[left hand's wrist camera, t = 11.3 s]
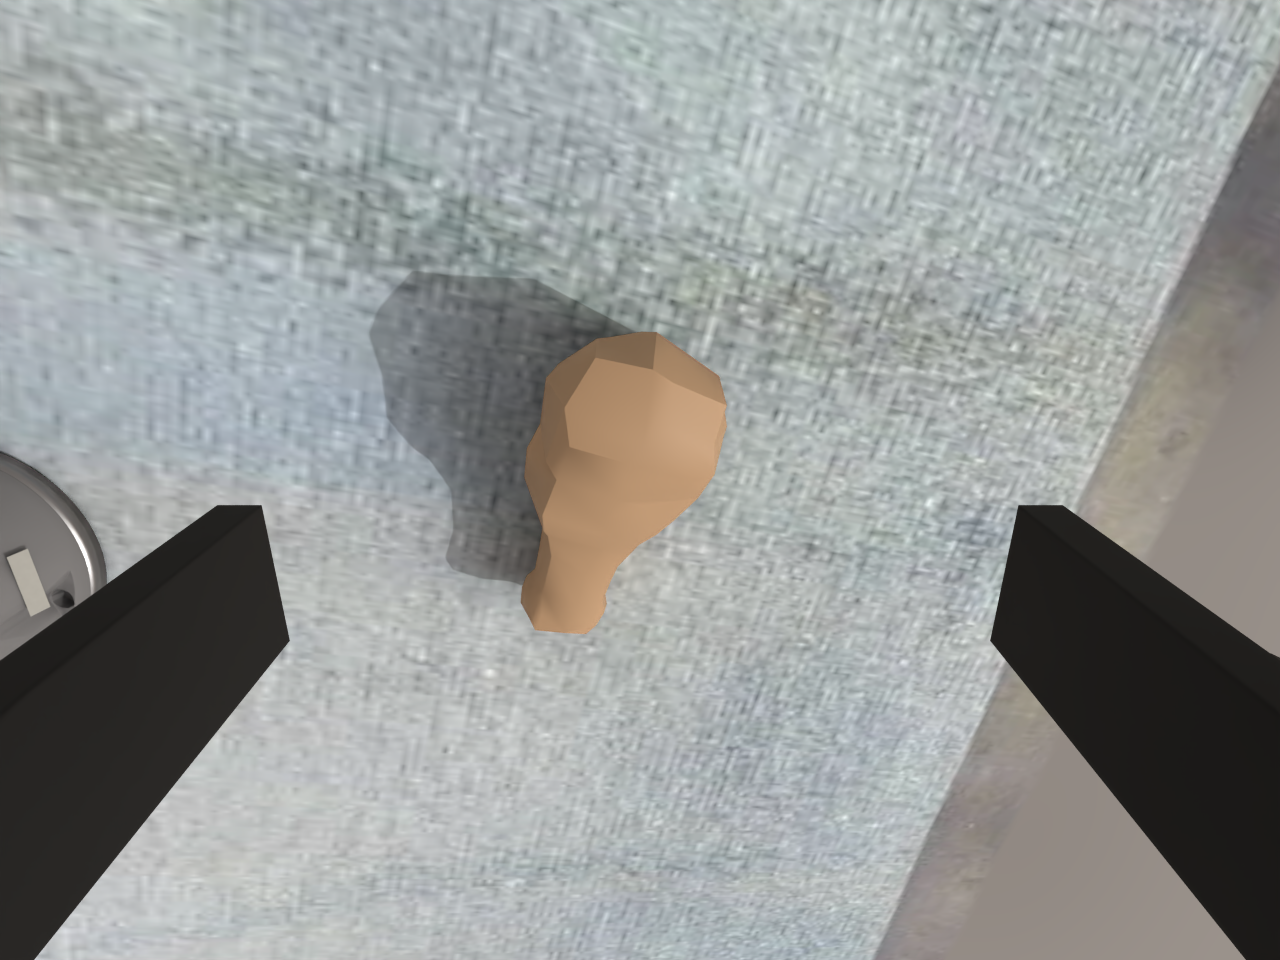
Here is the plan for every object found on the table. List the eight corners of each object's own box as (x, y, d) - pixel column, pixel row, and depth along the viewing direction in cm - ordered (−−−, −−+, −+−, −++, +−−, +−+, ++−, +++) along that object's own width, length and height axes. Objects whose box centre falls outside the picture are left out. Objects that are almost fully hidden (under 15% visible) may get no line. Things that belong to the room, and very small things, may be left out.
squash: (741, 335, 42) (787, 399, 34) (636, 593, 51) (654, 689, 44) (562, 283, 39) (569, 342, 31) (485, 567, 48) (476, 665, 41)
